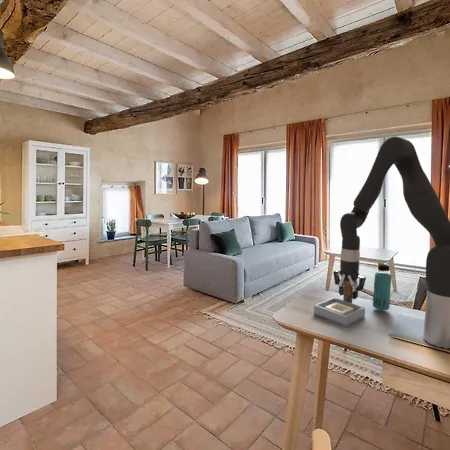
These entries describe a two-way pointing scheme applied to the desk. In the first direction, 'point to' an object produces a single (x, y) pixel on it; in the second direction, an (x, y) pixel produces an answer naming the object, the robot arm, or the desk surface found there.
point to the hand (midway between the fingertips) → (347, 296)
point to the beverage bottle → (382, 288)
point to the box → (339, 311)
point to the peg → (347, 291)
